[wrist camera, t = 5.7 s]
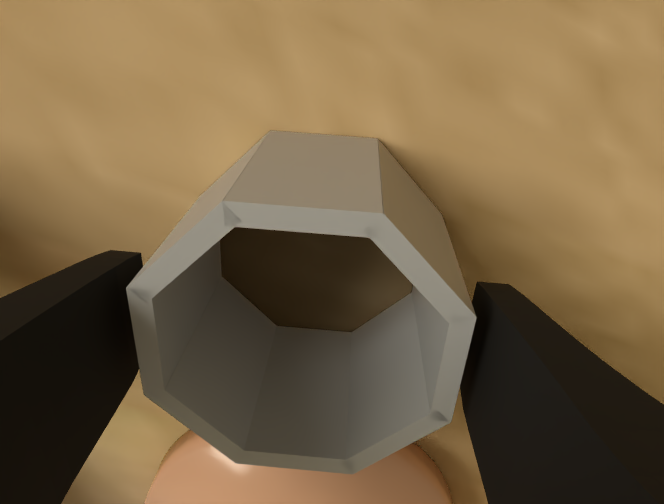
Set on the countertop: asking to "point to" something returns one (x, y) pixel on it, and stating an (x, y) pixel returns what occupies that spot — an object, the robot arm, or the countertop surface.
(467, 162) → the countertop surface
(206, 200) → the grey sleeve
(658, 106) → the countertop surface
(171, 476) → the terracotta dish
